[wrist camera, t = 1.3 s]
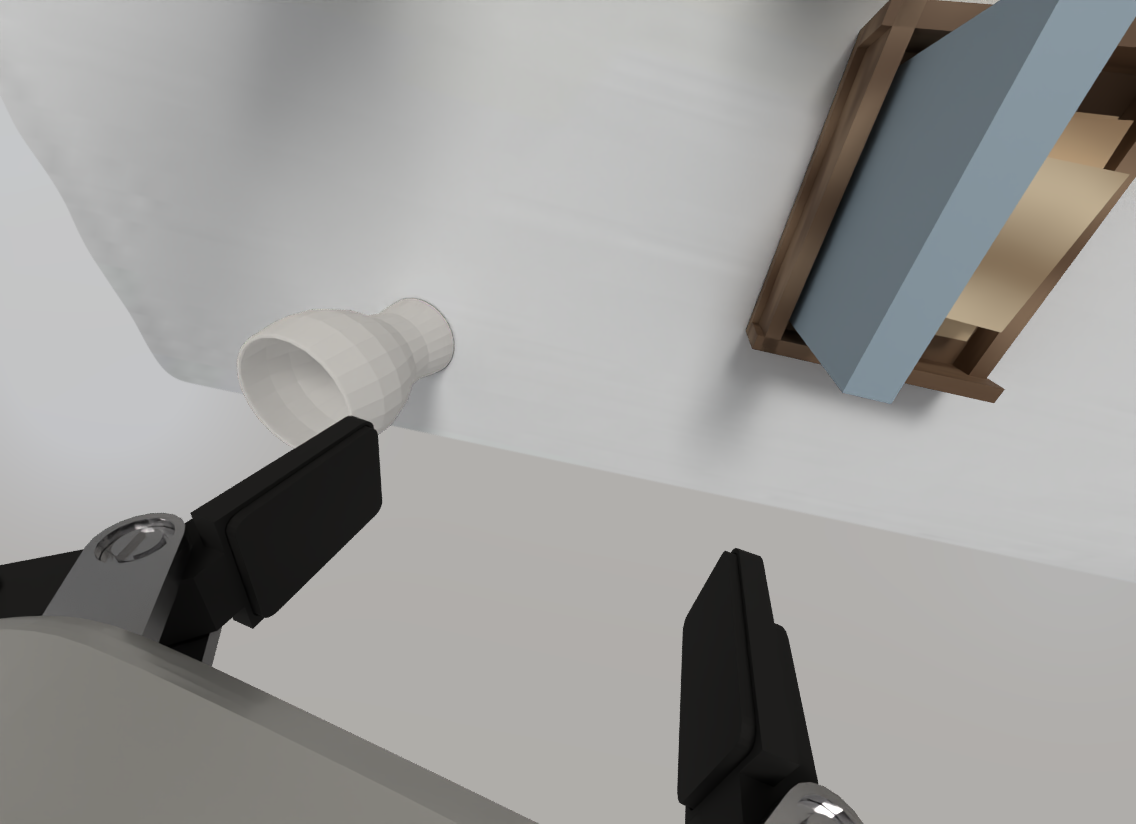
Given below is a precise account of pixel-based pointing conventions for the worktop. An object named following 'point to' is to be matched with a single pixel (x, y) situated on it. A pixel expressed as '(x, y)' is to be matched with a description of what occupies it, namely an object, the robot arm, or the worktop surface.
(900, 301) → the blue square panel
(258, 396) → the cup
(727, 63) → the worktop surface
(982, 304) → the offcut top
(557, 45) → the worktop surface
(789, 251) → the rack
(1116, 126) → the offcut middle
